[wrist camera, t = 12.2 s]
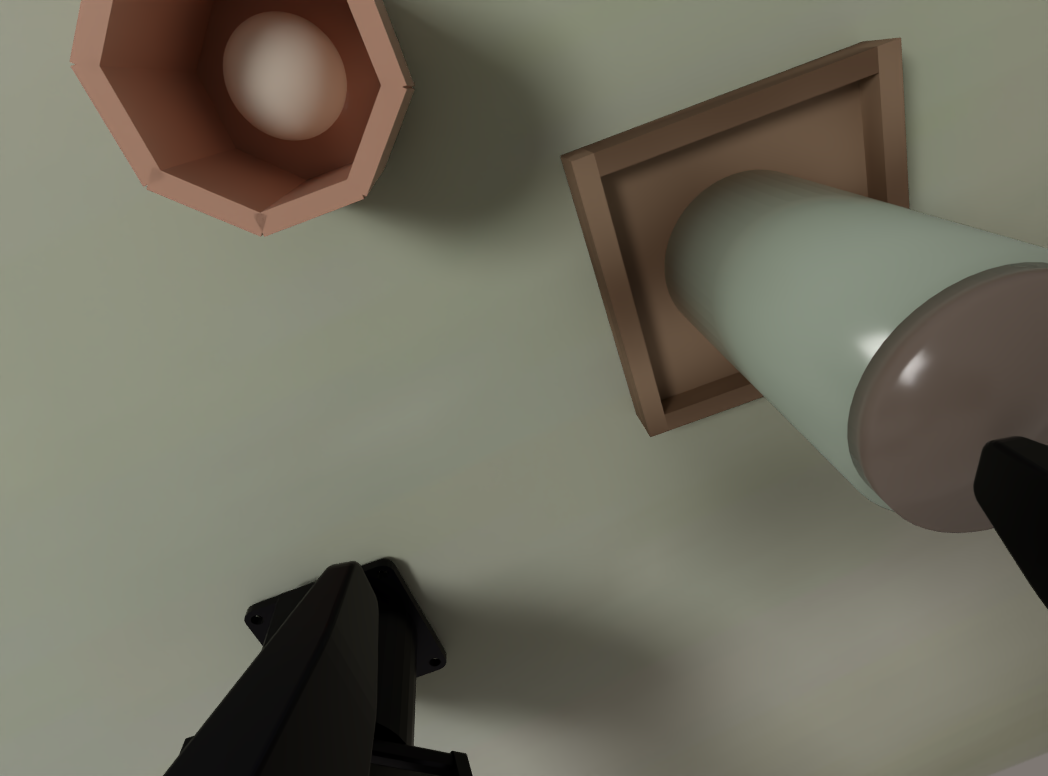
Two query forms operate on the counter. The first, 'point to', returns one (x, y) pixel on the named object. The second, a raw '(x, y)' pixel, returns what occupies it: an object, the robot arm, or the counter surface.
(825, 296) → the spice jar
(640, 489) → the counter surface
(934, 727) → the counter surface
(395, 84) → the terracotta cup
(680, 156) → the walnut tray
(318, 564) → the counter surface
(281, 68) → the cream ball
